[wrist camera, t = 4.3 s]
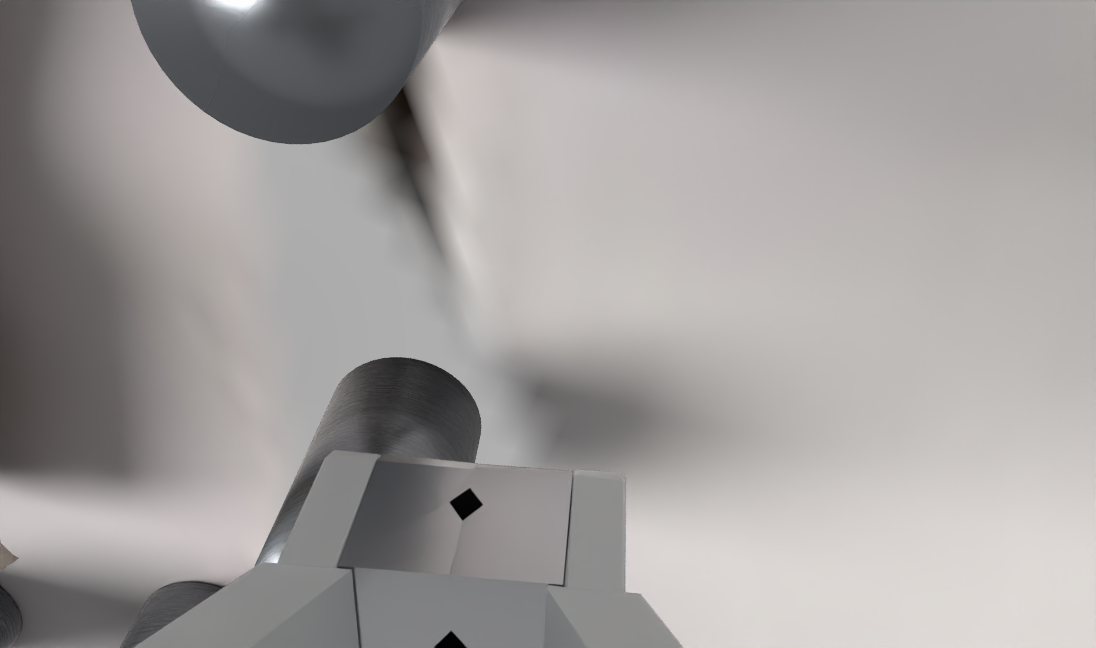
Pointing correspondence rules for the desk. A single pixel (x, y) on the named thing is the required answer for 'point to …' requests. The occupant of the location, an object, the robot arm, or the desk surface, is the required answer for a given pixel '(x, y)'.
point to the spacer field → (304, 118)
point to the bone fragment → (6, 557)
